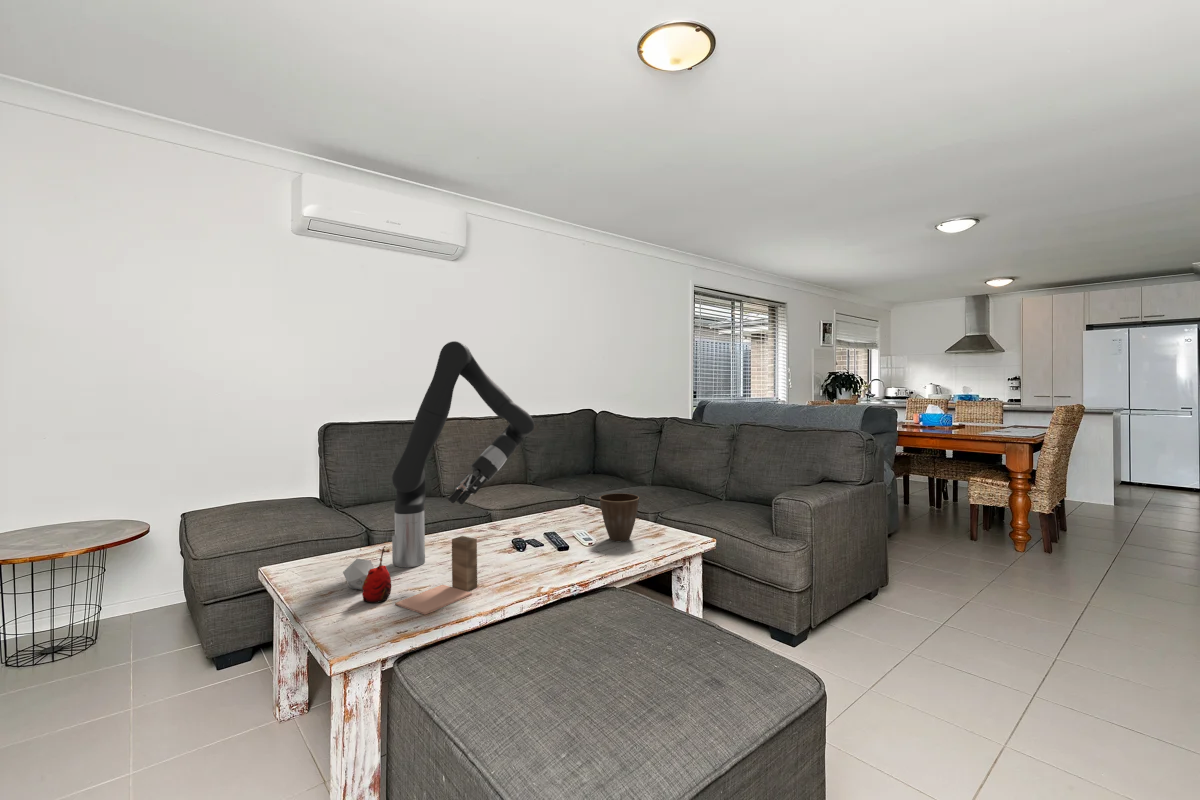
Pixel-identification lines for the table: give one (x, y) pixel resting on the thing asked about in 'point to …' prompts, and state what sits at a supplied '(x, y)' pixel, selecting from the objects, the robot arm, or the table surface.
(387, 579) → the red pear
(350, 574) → the die
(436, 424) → the robot arm
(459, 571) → the walnut block
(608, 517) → the plant pot
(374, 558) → the table surface
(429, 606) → the felt mat
